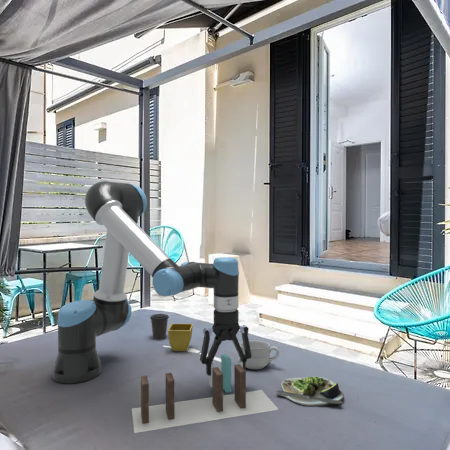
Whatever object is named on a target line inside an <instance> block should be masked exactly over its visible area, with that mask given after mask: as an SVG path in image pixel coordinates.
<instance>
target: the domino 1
mask: <svg viewBox="0 0 450 450" xmlns="http://www.w3.org/2000/svg"><path fill="white" fill-rule="evenodd" d="M149 406H150V383H149V379H148V375H141V376H140V407H141V418H142V424H145V423H149Z"/></svg>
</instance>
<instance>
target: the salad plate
mask: <svg viewBox="0 0 450 450" xmlns="http://www.w3.org/2000/svg"><path fill="white" fill-rule="evenodd" d="M280 386H281V389H282V390H275V394H276V395H278V396H281V397H284V398H286V399H288V400H290V401H292V402H294V403H295V404H298V405H301V406H309V407H312V406H313V407H314V406H317V407H321V406H325V407H326V406H328V407H329V406H336V405H341V404H343V399H344V393H343V392H342V391H341V389H340V386H339V383H338V382H333V381H332V380H331V379H329V378H326V377H322V376H312V375H311V376H306V377H288V378H286V379H284V380H283V381H281V383H280Z"/></svg>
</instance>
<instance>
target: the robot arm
mask: <svg viewBox="0 0 450 450" xmlns="http://www.w3.org/2000/svg"><path fill="white" fill-rule="evenodd" d="M84 203H85V209H86V211H87V212H88V214H89V215H90V217H91V218H92V219H93V220H94V221H95V223H96V224H98V225H100V226H104V228H105V229H106V232H105V233H106V234H105V235H106V236H105V242H104V250H103V257H102V265H101V272H100V279H99V280H100V281H99V287H98V289H97V290H96V291H95V292H94V293H93V299H92V300H90V299H82V300H81V299H80V300H74V301H71V302H68V303H66V304H64V305H63V306H61V307H60V308H59V310H58V313H57V321H56V324H57V342H58V343H57V346H58V347H57V348H58V350H57V356H56V358H55V361H54V365H53V368H52V373H51V374H52V375H51V376H52V379H53V381H54V382H56V383H60V384H77V383H84V382H86V381H90V380H92V379H95V378H96V377H98V376H99V375H100V374H101V373H102V362H101V359H100V357H99V354H98V351H97V348H96V347H97V346H96V345H97V343H96V341H97V340H96V339H97V338H96V337H99V336H102V335H104V334H108V333H110V332H115V331H118V330H119V329H121V328H123V327H125V325H127V323H128V322H129V321H130V319H131V316H132V306H131V305H130V303H131V302H130V301H129V299H128V295H127V294H126V293H125V291H124V290H125V283H126V276H127V269H128V263H129V262H128V261H129V255H131V257H133V259H135V260H136V262H137V263H139V265H140V266H141V267H142V268H143V269H144V270H145V271H146V272H147V273H148V274H149V275H150V276H151V278H152V281H151V282H152V286H153V290H154V291H155V292H156V294H158V295H159V296H160V297H161V296H162V297H169V296H176V295H179V294H181V293H183V292H186V291H187V292H188V291H190V290H193V289H194V290H195V289H197V288H208V289H213V308H214V310H213V324H212V325H213V326H212V327H211V328H203V330H202V331H203V332H202V333H203V340H202V346H201V352H200V357H199V360H200V363H201V364H202V365H205V370H206V371H205V372H206V375H207V377H209V379H208V380H209V381H208V382H209V386H210V388H212V368H214V367H215V365H214V363H213V361H214V360H215V356H216V355H217V353H218V349H219V348H220V345H221V344H222V342H225V341H226V342H227V341H232V344H233V346H234V348H235V351H236V352H237V355H238V356H239V358H237V363H236V365H239V364H240V365H241V366H242V368H243V369H244V370H245V371H246V362H247V359H250V358H251V357H252V356H251V350H250V345H249V341H250V339H249V327H248V326H247V325H246V324H243V325H240V324H239V313H240V312H239V310H238V309H239V278H240V277H239V275H240V272H239V260H238V259H237V258H235V257H229V256H228V257H226V256H223V257H222V256H221V257H215V258H214V259H213V262H212V263H208V262H207V263H206V262H196V261H190V262H189V261H185V262H182V263H181V265H178V264H177V263H176V262H175V261H174V260H173V259H172V258H171V257H170V256H169V255H168V254H167V253H166V251H164V250H163V249H162V248H161V247H160V246H159V245H158V244H157V243H156V242H155V241H154V240H153V239H152V238H151V237H150V235H148V233H147V232H145V231H144V230H143V229H142V227H141V226H140V225H139V224H138V222H139V217H140V216H143V214H144V213H145V212H146V209H147V206H148V200H147V195H146V194H145V192H144V191H143V189H142V188H141V187H140V186H138V185H136V184H131V183H127V182H126V183H125V182H118V181H117V182H116V181H115V182H113V181H108V180H103V181H98V182H96V183H94V184H92V185H91V186H90V187H89V188H88V190H87V191H86V194H85V198H84ZM238 332H240V333H241V338H242V339H241V340H242V342H243V345H244V350H245V354H244V353H243V351H242V349H241V346H240V342H239V339H238V337H237V334H238ZM213 333H214V335H215V336H214V339H213V343H212V344H211V348H210V347H209V345H210V340H211V336H212V334H213ZM209 348H210V349H209Z"/></svg>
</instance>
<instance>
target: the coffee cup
mask: <svg viewBox="0 0 450 450" xmlns="http://www.w3.org/2000/svg"><path fill="white" fill-rule="evenodd" d="M169 318H170V316H169V315H168V314H164V313H154V314H152V315H150V317H149V319H150V323H151V329H152V331H151V332H152V338H153V340H156V341H160V340H165V339H166V337H167V332H168V329H167V328H168V319H169Z"/></svg>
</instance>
